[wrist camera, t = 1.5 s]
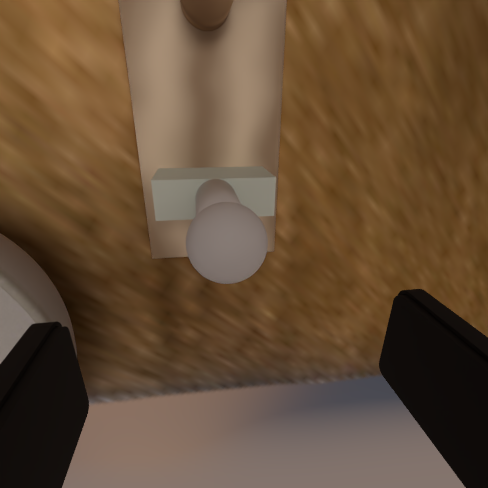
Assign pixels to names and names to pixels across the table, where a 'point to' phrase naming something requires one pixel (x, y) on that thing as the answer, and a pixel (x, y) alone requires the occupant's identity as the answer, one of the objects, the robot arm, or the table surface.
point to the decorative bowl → (25, 297)
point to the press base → (203, 97)
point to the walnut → (206, 13)
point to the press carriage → (219, 216)
